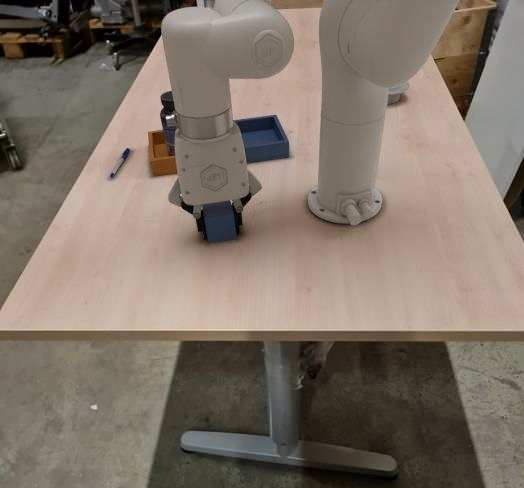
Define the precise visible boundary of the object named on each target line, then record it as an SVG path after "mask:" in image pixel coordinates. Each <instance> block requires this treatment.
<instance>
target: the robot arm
mask: <svg viewBox="0 0 524 488" xmlns="http://www.w3.org/2000/svg"><path fill="white" fill-rule="evenodd" d="M460 1H461V0H323V3H322V4H321V5H322V6H321V9H320V12H319V13H320V14H319V19H318V44H319V54H320V67H321V104H320V122H319V123H320V125H319V145H318V169H317V183H316V185H314V186H313V187H312V188H311V189H310V190H309V192H308V196H307V205H308V208H309V209H310V212H312V213H313V214H314V215H315V216H317V217H319V219H322V220H325V221H327V222H330V223H336V224H346V225H347V224H350V226H353V227H354V226H358V225H360V223H362V222H364V221H367V220H370V219H371V218H373V217H375V216H376V215H378V213H379V212H380V211H381V208H382V206H383V195H382V192H381V191H380V190H379V189H378V187H376V184H377V183H376V182H377V175H378V169H379V162H380V157H381V156H380V155H381V149H382V141H383V134H384V130H385V129H384V127H385V121H386V116H387V115H386V114H387V109H388V104H387V102H388V92H389V88H391V87H396V86H399V85H401V84H403V83H405V82H409V81H410V80H411V79H412V78H413V77H414V76H415V75H417V74H418V73H419V72H420V70H422V68H423V66H424V65H425V64H426V62H427V61H428V60H429V58H430V57H431V55H432V54H433V52H434V50H435V48H436V46H437V44H438V42H439V40H440V39H441V37H442V35H443V33H444V31H445V29H446V28H447V25H448V23H449V21H450V20H451V18H452V16H453V14H454V12H455V10H456V9H457V6H458V5H459V3H460ZM272 2H273V0H214V3H213V8H209V7H206V6H187V7H182V8H181V7H180V8H177V9H175V10H172V11H170V12H169V13H167V14H166V15H165V16H164V17H163V19H162V21H161V24H160V30H161V31H160V32H161V40H162V44H163V50H164V56H165V61H166V67H167V72H168V78H169V84H170V89H171V91H172V95H173V100H174V106H175V110H176V111H173V112H174V114H171V115H167V116H166V122H167V126H173V127H175V126H176V129H177V130H176V131H175V157H176V165H177V173H176V174H177V178H176V180H175V182H174V184H173V186H172V187H171V189H170V191H169V192H168V194H167V200H168V202H169V203H170V204H172V205H174V206H176V207H178V208H181V209H182V210H183V211H185V212H187V213H188V214H190V215H192V218H194V219H195V224H196V229H197V233H202V238H203V240H208V237H207V231H206V225H205V219H204V214H203V209H202V204H209V203H216V202H223V201H229V200H230V201H231V205H232V209H233V213H234V220H235V229H236V235H240V234H241V233H240V232H241V231H240V227H243V226H244V223H243V213H242V212H243V211H244V207H245V206H247V204H248V203H249V202H250V201H251V200H252V198H253V197H254V196H255V195H257V194H258V193H259V192H261V190H262V189H263V185H262V182H261V181H260V180H259V179H258V178H257V177H256V176H255V175H254V173H252V171H251V170H250V169H248V163H247V162H246V156H245V149H244V144H243V140H242V135H241V132H240V129H239V127H238V125H237V124H236V123H235V122H234V121H233V120H234V116H233V106H232V95H231V84H230V80H262V79H263V80H264V79H269V78H272V77H274V76H276V75H278V74H279V73H281V72H282V71H284V69H285V68H286V67H287V66H288V65H289V63H290V61H291V59H292V58H293V55H294V49H295V36H294V33H293V28H292V27H291V25H290V23H289V21H288V20H287V19H286V18H285V16H284V15H283V14H282V13H281V12H280V11H279V10H277V9H276V8H275V7H274V6H273V5H272Z"/></svg>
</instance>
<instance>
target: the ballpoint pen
mask: <svg viewBox="0 0 524 488" xmlns="http://www.w3.org/2000/svg"><path fill="white" fill-rule="evenodd" d="M130 151H131V149H130V148H129V147H126V148H125V150H124V151H123V152H122V154H121V157H120V159H119V160H118V162H117V163H116V165H115V166H114V168H113V169H112V171H111V172H110V175H109V177H110V178H113V177H115V175H116V173H117V172H118V171H119V169H120V167H121V166H122V164H123V162H124V161H125V160H126V158H127V157H128V156H129V154H130Z"/></svg>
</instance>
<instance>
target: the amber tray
mask: <svg viewBox="0 0 524 488" xmlns="http://www.w3.org/2000/svg"><path fill="white" fill-rule="evenodd" d="M147 139H148V152H149V157H148V158H149V164H150V168H151V172H152V176H153V177H158V176H165V175H171V174H178V173H177V165H176V157H175V156H169V155H168V152H167V147H166V142H165V138H164V133H163V129H158V130H150V131H147Z"/></svg>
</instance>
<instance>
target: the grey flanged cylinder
mask: <svg viewBox="0 0 524 488" xmlns="http://www.w3.org/2000/svg"><path fill="white" fill-rule="evenodd" d="M409 89H410V82H409V81H407V82H405V83H403V84H401V85H399V86H396V87H391V88H389V92H388V102H387V105H390V104H395V103H397V102H398V101H399V100H400V97H401V93H403V92H405V91H408V90H409Z"/></svg>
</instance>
